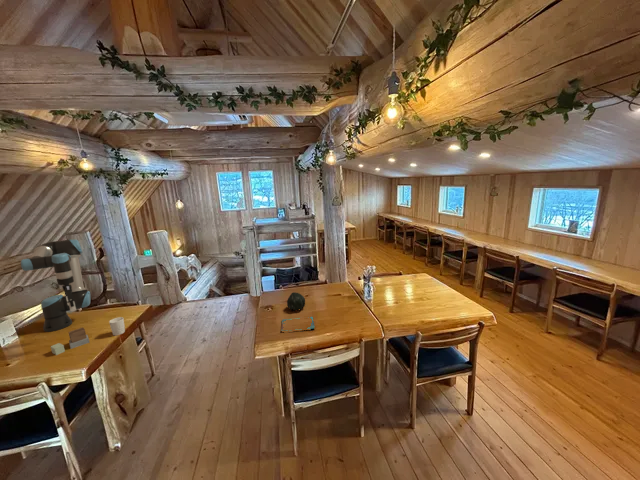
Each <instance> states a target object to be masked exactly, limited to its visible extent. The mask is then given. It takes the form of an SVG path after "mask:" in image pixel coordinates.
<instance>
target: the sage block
mask: <svg viewBox="0 0 640 480" xmlns="http://www.w3.org/2000/svg"><path fill="white" fill-rule="evenodd" d="M50 349H51V351H50V352H51V353H52V354H53V355H55V356H58V355H60V354H62V353H63V354H64V353H65V352H66V350H65V345H64V344H62V343H60V342H58V343H56V344H53V345H51V346H50Z"/></svg>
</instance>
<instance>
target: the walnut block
mask: <svg viewBox="0 0 640 480" xmlns="http://www.w3.org/2000/svg"><path fill="white" fill-rule="evenodd" d="M86 335H87V334H86V330H85V328H84V327H83V326H82V327H79V328H77V329H74V330H73V329H72V330H70V331H68V336H69V340H71V342H72V343H74V342H77V341H80V340H83V339H85V338H87V337H86Z"/></svg>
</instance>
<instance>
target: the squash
mask: <svg viewBox="0 0 640 480" xmlns="http://www.w3.org/2000/svg"><path fill="white" fill-rule="evenodd" d="M286 305H287V307H288V309H289V308H290V309H289V310H291V311H295V310H297V311H299V310H298V309H301V310H302V309H303V308H304V307H306V306H305V305H306V299H305V296H304V295H302V293H300V292H291V293H290V295H289V296H288V298H287V301H286ZM302 307H303V308H302ZM292 309H294V310H292Z"/></svg>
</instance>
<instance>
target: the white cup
mask: <svg viewBox="0 0 640 480" xmlns="http://www.w3.org/2000/svg"><path fill="white" fill-rule="evenodd" d="M124 320H125V319H124V317H122V316H119V317H115V318H112V319H110V320H108V322H109V325H110V329H111V332H112V336H120V335H123V334H124V333H125V332H126V329H125V328H126V327H125V321H124Z"/></svg>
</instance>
